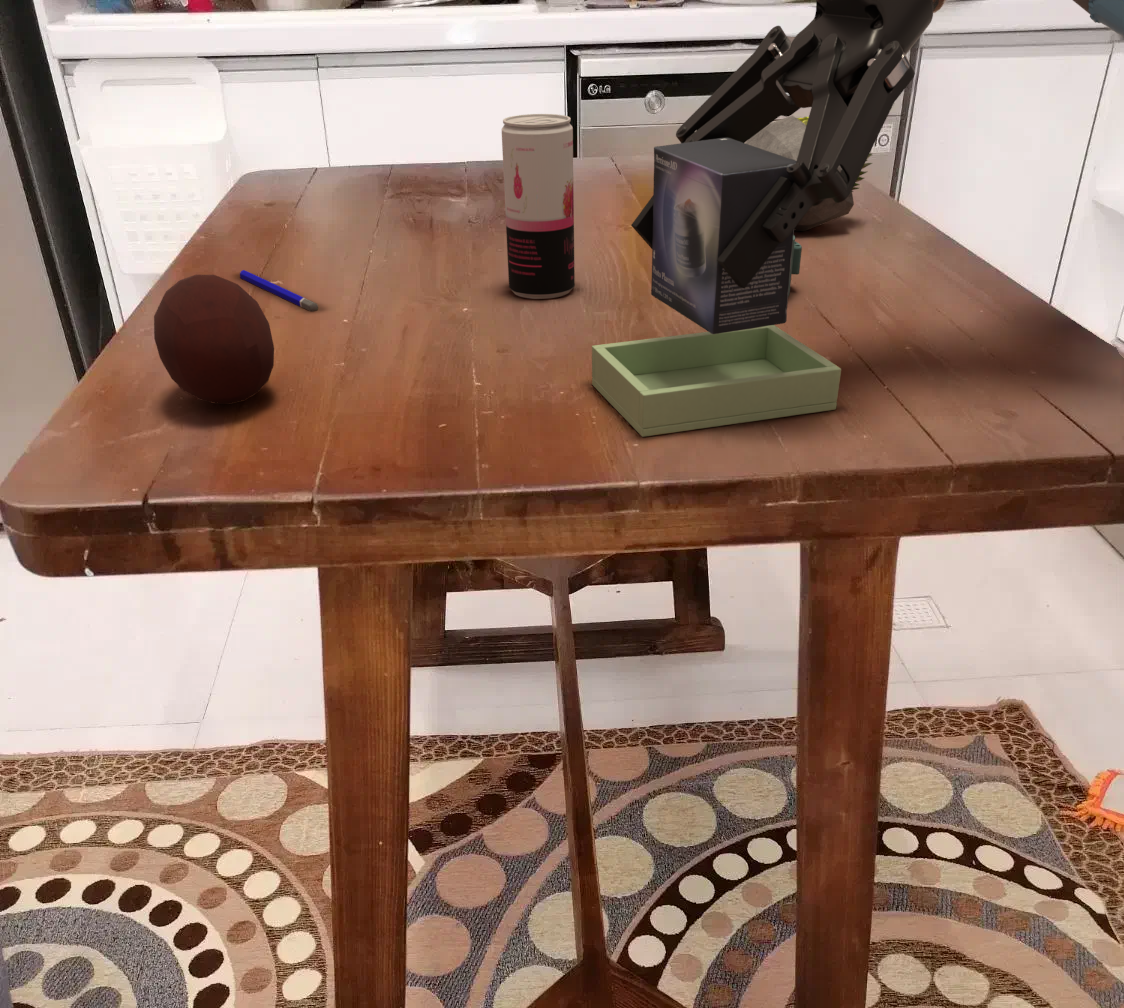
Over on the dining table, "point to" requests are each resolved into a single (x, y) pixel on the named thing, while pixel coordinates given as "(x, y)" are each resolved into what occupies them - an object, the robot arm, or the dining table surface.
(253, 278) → the pencil
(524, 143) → the beverage can
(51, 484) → the dining table surface
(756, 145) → the potted plant
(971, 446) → the dining table surface
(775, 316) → the small box
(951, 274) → the dining table surface
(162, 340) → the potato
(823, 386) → the tray
